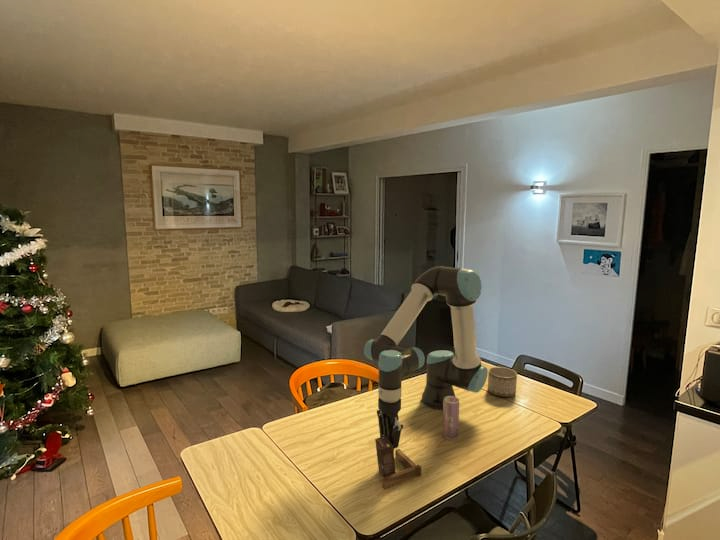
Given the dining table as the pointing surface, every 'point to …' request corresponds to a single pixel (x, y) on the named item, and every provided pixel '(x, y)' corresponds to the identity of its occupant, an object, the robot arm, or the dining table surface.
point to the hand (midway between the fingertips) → (388, 463)
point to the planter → (502, 381)
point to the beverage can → (450, 417)
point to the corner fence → (405, 475)
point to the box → (385, 456)
